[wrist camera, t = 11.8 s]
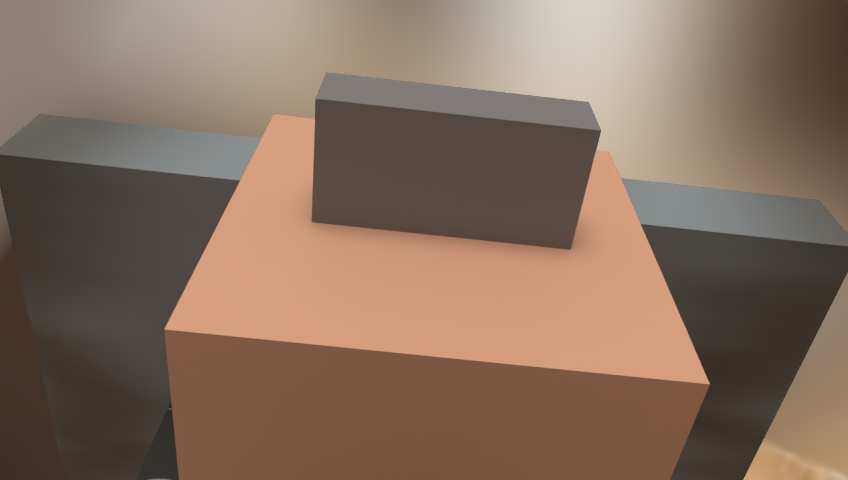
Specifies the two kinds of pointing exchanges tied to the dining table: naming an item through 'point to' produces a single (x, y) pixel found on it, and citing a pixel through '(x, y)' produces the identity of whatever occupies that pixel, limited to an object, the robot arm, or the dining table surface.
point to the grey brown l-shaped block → (209, 197)
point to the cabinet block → (430, 302)
